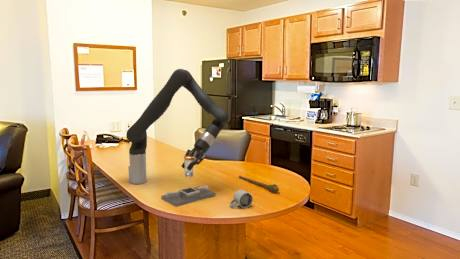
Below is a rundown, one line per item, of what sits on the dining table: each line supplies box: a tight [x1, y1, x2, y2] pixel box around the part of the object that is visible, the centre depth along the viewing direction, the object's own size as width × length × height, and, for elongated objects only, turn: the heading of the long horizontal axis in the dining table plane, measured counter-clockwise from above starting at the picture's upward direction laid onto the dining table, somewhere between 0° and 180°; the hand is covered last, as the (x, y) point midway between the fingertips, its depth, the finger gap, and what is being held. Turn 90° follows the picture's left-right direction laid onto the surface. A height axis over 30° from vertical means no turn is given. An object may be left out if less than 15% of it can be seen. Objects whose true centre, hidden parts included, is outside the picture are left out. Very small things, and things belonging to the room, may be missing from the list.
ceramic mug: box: [229, 189, 254, 209], centre depth 162 cm, size 10×8×7 cm
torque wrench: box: [238, 175, 280, 194], centre depth 194 cm, size 5×35×5 cm
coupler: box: [183, 155, 194, 178], centre depth 171 cm, size 5×5×10 cm
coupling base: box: [161, 184, 216, 207], centre depth 173 cm, size 24×14×4 cm, turn 131°
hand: (185, 168), depth 170 cm, fingers closed on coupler, 4 cm apart
